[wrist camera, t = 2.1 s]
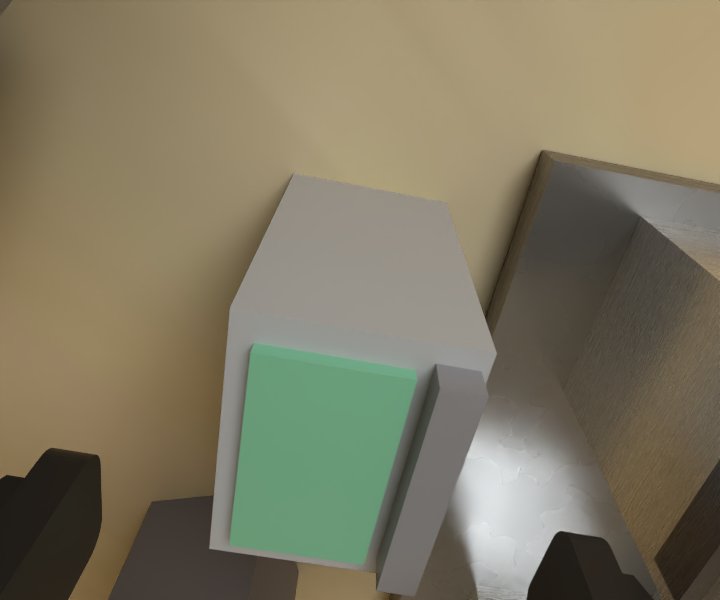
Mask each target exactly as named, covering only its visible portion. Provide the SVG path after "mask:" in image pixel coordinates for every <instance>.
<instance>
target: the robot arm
mask: <svg viewBox="0 0 720 600" xmlns="http://www.w3.org/2000/svg"><path fill="white" fill-rule="evenodd" d="M101 522H102V500H101V465H100V458H99V456H98V455H94V454H88V453H81V452H75V451H69V450H63V449H56V448H50V449H48V450H47V451H46V452H45V453H44V454H43V455H42V456H41V457H40V458H39V460H38V461H37V462H36V464H35V465H34V466H33V468H32V469H31V470H30V472H29V473H28V474H27V476H26V477H25V478H22V477H15V476H9V475H6V476H5V477H3V478H2V479H0V600H68V599H69V597H70V595H71V593H72V591H73V589H74V587H75V585H76V583H77V582H78V580H79V578H80V576H81V574H82V572H83V570H84V568H85V566H86V564H87V563H88V561H89V559H90V557H91V555H92V553H93V550H94V548H95V545H96V542H97V539H98V536H99V532H100V528H101ZM527 600H654V599H653V598H652V597H651V596H650V594H649V593H648V592H647V591H646V590H645V588H644V587H643V586H642V585H641V584H640V582H639V581H638V580H637V579H636V578H635V576H634V575H630V574H624V573H622V571H621V569H620V567H619V564H618V562H617V560H616V558H615V555H614V553H613V551H612V549H611V547H610V545H609V543H608V542H607V541H606V540H605V539H603V538H601V537H595V536H589V535H583V534H577V533H570V532H564V531H559V532H557V533H556V534H555V535H554V537H553V539H552V541H551V543H550V545H549V547H548V549H547V551H546V553H545V555H544V557H543V559H542V561H541V563H540V565H539V567H538V569H537V571H536V573H535V575H534V577H533V579H532V581H531V583H530V585H529V588H528V593H527Z"/></svg>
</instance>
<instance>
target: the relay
mask: <svg viewBox="0 0 720 600" xmlns="http://www.w3.org/2000/svg"><path fill="white" fill-rule="evenodd" d="M213 500H214V496H205V497H195V498H185V499H175V500H165V501H155V502H152V503H151V505H150V507H149V510H148V512H147V514H146V516H145V519H144V521H143V523H142V525H141V527H140V530H139V532H138V534H137V536H136V539H135V541H134V543H133V545H132V547H131V550H130V552H129V554H128V556H127V559H126V561H125V563H124V565H123V568H122V570H121V572H120V574H119V576H118V579H117V581H116V583H115V585H114V588H113V590H112V592H111V594H110V596H109V599H108V600H295V594H296V587H297V580H298V572H299V571H298V568H297V565H296V562H295V561H290V560H283V559H276V558H270V557H263V556H256V555H249V554H242V553H235V552H228V551H221V550H214V549H209V546H210V535H211V523H212V511H213Z"/></svg>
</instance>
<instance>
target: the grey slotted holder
mask: <svg viewBox="0 0 720 600" xmlns="http://www.w3.org/2000/svg"><path fill="white" fill-rule="evenodd" d="M485 320H486V323H487V326H488V329H489V332H490V335H491V338H492V341H493V343H494V346H495V349H496V352H497V355H496V358H495V360H494V363H493V366H492V369H491V371H490V374H489V377H488V380H487V382H486V389H487V393H488V396H489V397H488V400H487V403H486V405H485V408H484V411H483V414H482V416H481V419H480V422H479V424H478V427H477V430H476V432H475V435H474V438H473V441H472V443H471V446H470V449H469V451H468V454H467V457H466V459H465V462H464V465H463V468H462V470H461V473H460V476H459V478H458V481H457V484H456V486H455V489H454V492H453V494H452V497H451V500H450V503H449V505H448V508H447V511H446V513H445V516H444V519H443V521H442V524H441V527H440V530H439V532H438V535H437V538H436V540H435V543H434V546H433V548H432V551H431V554H430V557H429V559H428V562H427V565H426V567H425V570H424V573H423V575H422V578H421V581H420V583H419V586H418V589H417V592H416V594H415V597H414V596H407V595H400V594H393V593H392V596H391V599H390V600H527V593H528V588H529V585H530V583H531V581H532V579H533V577H534V575H535V573H536V571H537V569H538V567H539V565H540V563H541V561H542V559H543V557H544V555H545V553H546V551H547V549H548V547H549V545H550V543H551V541H552V539H553V537H554V535H555V534H556V533H557V532H559V531H564V532H570V533H577V534H583V535H589V536H595V537H601V538H603V539H605V540H606V541H607V542H608V543H609V545H610V547H611V549H612V551H613V553H614V555H615V558H616V560H617V562H618V564H619V567H620V569H621V571H622V573H624V574H630V575H634V576H635V578H636V579H637V580H638V581H639V582H640V584H641V585H642V586H643V587H644V588H645V590H646V591H647V592H648V593H649V594H650V596H651V597H652V598H653V599H654V600H720V185H718V184H713V183H708V182H703V181H698V180H693V179H688V178H683V177H678V176H672V175H667V174H662V173H657V172H652V171H647V170H642V169H637V168H632V167H627V166H622V165H617V164H612V163H607V162H602V161H597V160H592V159H587V158H582V157H577V156H571V155H566V154H561V153H556V152H551V151H546V150H542V153H541V156H540V159H539V162H538V165H537V168H536V171H535V174H534V177H533V180H532V183H531V186H530V189H529V192H528V195H527V198H526V201H525V204H524V206H523V209H522V212H521V215H520V218H519V221H518V224H517V227H516V230H515V233H514V236H513V239H512V242H511V245H510V248H509V251H508V254H507V257H506V260H505V263H504V265H503V268H502V271H501V274H500V277H499V280H498V283H497V286H496V289H495V292H494V295H493V298H492V301H491V304H490V307H489V310H488V313H487V316H486V319H485Z"/></svg>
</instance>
